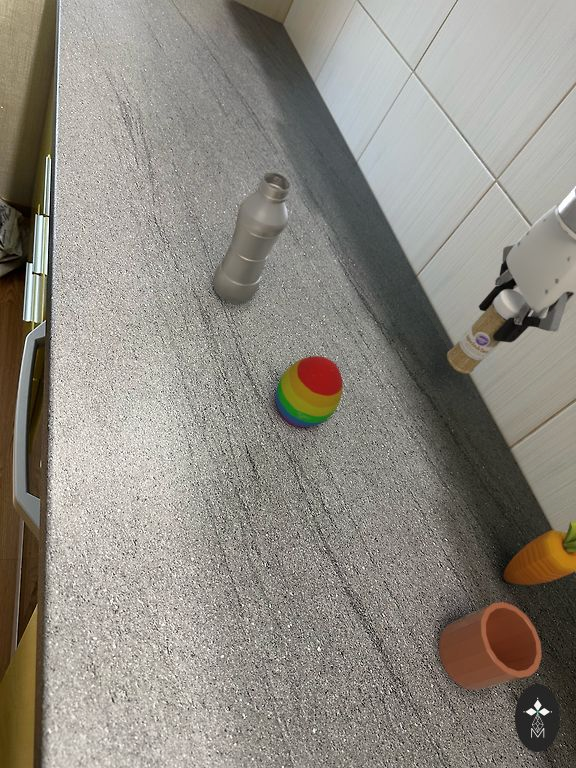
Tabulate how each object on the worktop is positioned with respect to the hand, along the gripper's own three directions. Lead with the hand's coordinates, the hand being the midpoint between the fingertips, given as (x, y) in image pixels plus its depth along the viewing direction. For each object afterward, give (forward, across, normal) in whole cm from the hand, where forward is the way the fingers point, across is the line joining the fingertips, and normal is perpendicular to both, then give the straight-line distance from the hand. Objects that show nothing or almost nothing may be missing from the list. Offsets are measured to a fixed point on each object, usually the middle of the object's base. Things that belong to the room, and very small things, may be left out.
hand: (495, 323), depth 78 cm
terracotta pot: (+15, -38, +10) cm, 42 cm away
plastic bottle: (+15, +14, +32) cm, 38 cm away
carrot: (+16, -30, 0) cm, 34 cm away
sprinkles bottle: (+9, 0, 0) cm, 9 cm away
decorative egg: (+15, -6, +25) cm, 29 cm away
